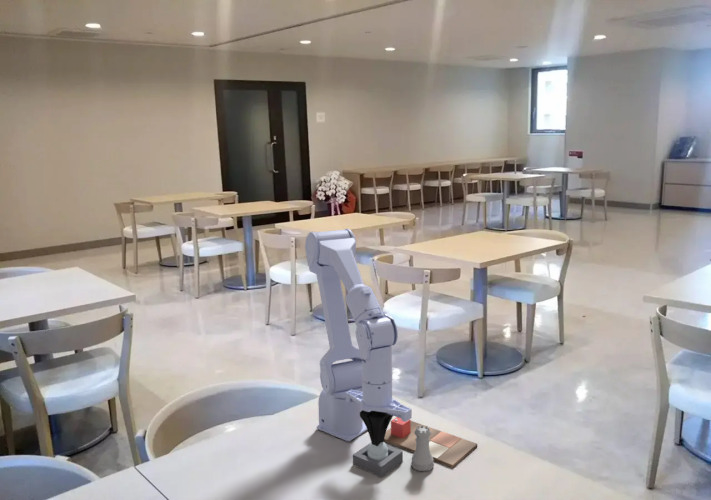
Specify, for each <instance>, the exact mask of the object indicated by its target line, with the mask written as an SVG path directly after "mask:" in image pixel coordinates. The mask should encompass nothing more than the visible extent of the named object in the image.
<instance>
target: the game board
mask: <svg viewBox="0 0 711 500" xmlns="http://www.w3.org/2000/svg"><path fill="white" fill-rule="evenodd" d="M421 425H423V427H425V426H426V425H424V424H421V423H418V422H417V421H416V422H415V421H413V420H411V433H409V434H408V435H406V436H405V437H404V438H401V437H398V436H395V435H392V434H391V427H390V428H389V429H387V430H386V434H385V438H384V442H385V443H386V444H387V443H388V444H390V445H392V446H396V447H398V448H400V449H403V450H406V451H408V452H411V453H413V454H414V452H415V450H416V440H415V439H416V438H417V436H416V435H415V433H414V432H415V430H416V428H417V426H420V427H421ZM428 428H429V430H430V431H431V435H430V436H429V439H430V442H429V449H430V453H431V455H432V456H433V460H434V461H433V462H437V463H439V464H442V465H445V466H447V467H449V468H452V469H453V468H454V467H455V466H457V465H458V464H459V463H460V462H462V461H463V460H464V459H465V458H466V457H467V456H468V455H469V454H471V453H472V452H473V451H474V450H476V449H477V447H478V443H476V442H474V441H471V440H467V439H464V438H463V437H460V436H456V435H454V434H450V433H448V432H445V431H442V430H439V429H436V428H433V427H431V426H428Z"/></svg>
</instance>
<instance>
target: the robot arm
mask: <svg viewBox="0 0 711 500" xmlns="http://www.w3.org/2000/svg"><path fill="white" fill-rule="evenodd" d="M304 243H305V244H304V250H305V256H306V261H307V266H308V268H309V269H308V270H309V272H310V273H313V274H314V275H316V276H315V277H316V279H317V284H318V289H319V295H320V301H321V306H322V312H323V318H324V322H325V329H326V334H327V339H328V345H329V349H328V350H327V351H326V352H325V354H324V355H323V356H322V357H321V358H320V361H319V369H320V372H319V378H320V379H319V380H320V384H321V388H322V390H321V392H320V394H319V397H318V403H317V405H318V425H317V426H316V429H317V430H318V431H322V432H323V433H327V434H328V435H332V436H333V437H337V438H338V439H342V440H344V441H345V442H351V441H352V440H354V439H355V438H357V437H359V436H361V435H362V434H363V433H366V431H367V432H368V435H369V438H370V443H372V444H373V445H375V446H378V445H379V444H380V443H381V442H385V441H384V438H385V434H386V431H387V430H388V428H389V425H390V424H391V421H392V420H393V417H395V418H396V417H399V418H401V420H402V421H404V422H406V421H408V420H409V419H410V420H411V419H412V418H413V417H412V415H413V414H412V408H410V407H408V406H406V405H404V404H402V403H401V402H399V401H398V400H396V399H394V398H393V361H392V360H393V352H392V350H393V349H392V348H393V347H392V346H394V345H396V344H397V342H398V337H399V336H398V335H399V334H398V327H397V324H396V322H395V319H394V318H393V317H392V316H391V315H390V314H388V312H387V311H384V310H383V309H382V308H381V305H380V302H379V300H378V299H377V296H376V295H375V293H374V290H373V288H372V287H371V286H369V285H365V284H364V281H363V278H362V275H361V273H360V272H361V271H360V270H359V266H358V263H357V261H356V258H355V256H356V253H357V252H356V251H357V240H356V236H355V234H354V231H352V230H351V229H350V228H345V229H337V230H327V231H316V232H315V231H309V232H308V233H307V236H306V238H305V242H304ZM341 282H342V283H341ZM342 284H343V286H344V288H345V289H346V292H347V294H346V295H345V300H344V295H343V294H344V293H343V288H342ZM345 302H346V304H347V307H348V309H349V312H350V314H351V316H352V319H353V321H354V323H355V325H356V330H355V338H356V342H357V345H358V348H357V347H356V346H354V345H353V343H352V342H353V341H352V337H351V331H350V326H349V322H348V315H347V311H346V305H345ZM344 360H348V361H344ZM339 361H342V362H339ZM336 362H339V363H336Z"/></svg>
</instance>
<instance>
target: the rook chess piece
mask: <svg viewBox="0 0 711 500" xmlns="http://www.w3.org/2000/svg"><path fill="white" fill-rule="evenodd" d="M423 425H424V424H422V425H421V427H420V426H417V428H416V430H415V432H414V433H415V435H416V436H417V438H416V439H415V440H416V450H415V452H414V453H413V455H412V456H411V463H410V465H411V466H412V468H413V470H416V471H418V472H428V471H431V470H432V468H434V466H435V463H434V462H435V461H434V460H433V456H432V455H431V453H430V449H429V442H430V439H429V436H430V435H431V431H430V430H429V428H428V427H429V426H428V425H425V427H423Z"/></svg>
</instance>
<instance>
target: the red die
mask: <svg viewBox="0 0 711 500" xmlns="http://www.w3.org/2000/svg"><path fill="white" fill-rule="evenodd" d="M411 421H412V420H411V419H409V420H408V421H406V422H404V421H402V420H401V418H399V417H396V416H395V418H392V419H391V421H390V428H391V434H392V435H395V436H398V437H401V438H404V437H405V436H406V435H408V434H409V433H411Z"/></svg>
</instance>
